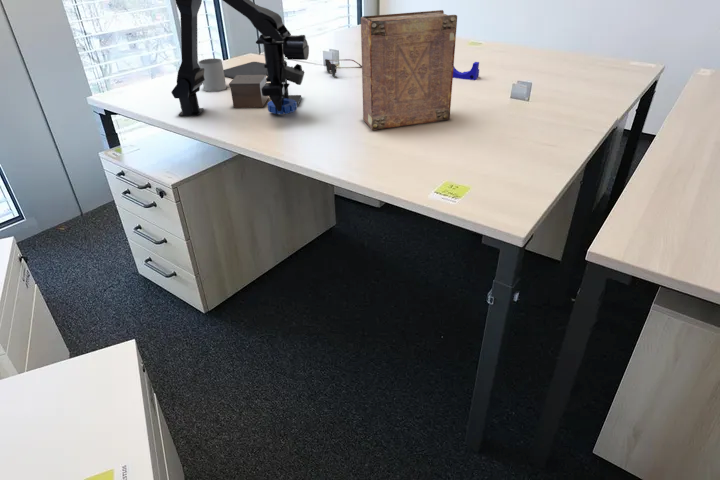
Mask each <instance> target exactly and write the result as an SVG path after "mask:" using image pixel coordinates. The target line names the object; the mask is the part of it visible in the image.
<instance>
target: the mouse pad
mask: <svg viewBox="0 0 720 480" xmlns="http://www.w3.org/2000/svg"><path fill="white" fill-rule="evenodd" d="M264 64H265V63H264V62H260V61H251V62H247V63H244V64H240V65H237V66H236V65H235V66H233V67H229V68H226V69H223V70H224V76H225V78H231V79H234V78H235V77H236V75H266V76H267V71H266V68H265V67H264Z"/></svg>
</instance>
